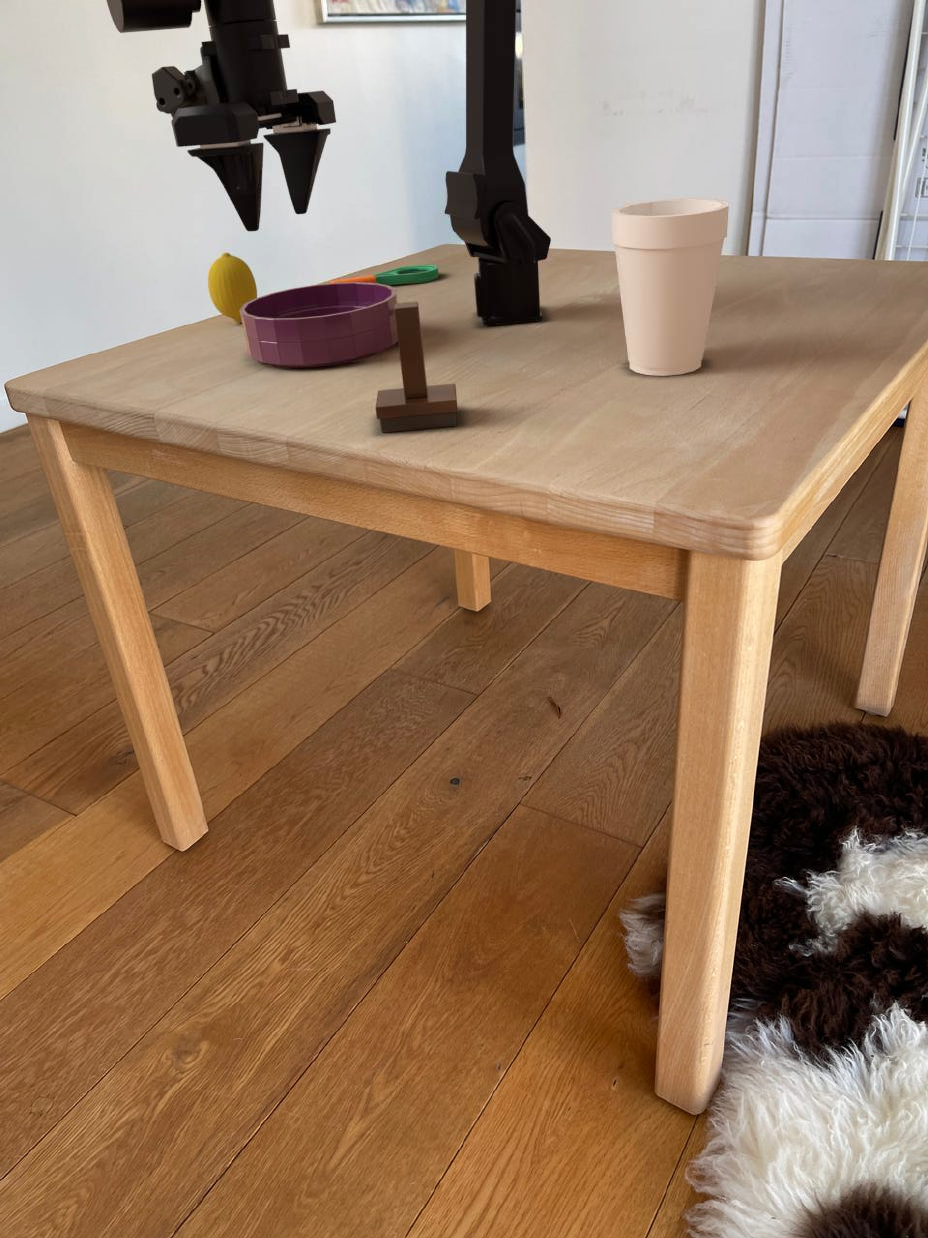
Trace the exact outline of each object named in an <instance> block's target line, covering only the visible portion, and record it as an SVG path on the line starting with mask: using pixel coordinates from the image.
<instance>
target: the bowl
mask: <svg viewBox="0 0 928 1238" xmlns="http://www.w3.org/2000/svg"><path fill="white" fill-rule="evenodd" d="M397 303H399V299H398V291H397V289H395V288H394V287H392V285H383V284H378V283H363V282H349V283H330V282H329V283H321V284H312V285H305V286H298V287H293V288H288V289H283V290H279V291H275V292H271V293H268V294H265V295H261V296H259V297H258V296H257V298H255V299H253V300H251V301H249V302H247V303H245V304H244V305H243V306H242V307H241V309H240V315H241V320H242V322H241V323H242V324H241V325H242V329H243V334H244V335H243V336H244V340H245V345H246V350H247V353H248V355H249V356H250V358H251V359H252V360H255V361H257V362H260V363H263V364H268V365H271V366H275V367H281V368H292V369H293V368H296V369H297V368H298V369H299V368H300V369H301V368H303V369H304V368H321V367H329V366H337V365H341V364H347V363H348V364H349V363H351V362H356V361H360V360H364V359H367V358H370V357H373V356H375V355H377V354H380V353H382V352H383V351H385V350H386V349H388V348H389V347H392V346H393V345H395V344H396V343H398V337H397V328H396V320H395V312H394V308H395V304H397Z"/></svg>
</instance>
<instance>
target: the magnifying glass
mask: <svg viewBox="0 0 928 1238" xmlns="http://www.w3.org/2000/svg"><path fill="white" fill-rule="evenodd" d="M439 277H440V276H439V267H438V266H437V265H433V264H418V265H417V264H416V265H407V266H402V267H397V268H393V269H390V270H389V269H388V270H385V271H383V272H379V273H376V274H370V275H362V276H357V277H356V276H355V277H350V278H342V279H335V280H330V281H329V284H330V283H349V282H363V283H378V284H383V285H388V286H394V285H405V284H409V285H410V284H418V283H426V282H430V281H433V280H436V279H438V278H439Z"/></svg>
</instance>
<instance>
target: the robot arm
mask: <svg viewBox="0 0 928 1238" xmlns="http://www.w3.org/2000/svg"><path fill="white" fill-rule="evenodd" d="M106 4H107V7H108V10H109V13H110V14H109V15H110V16H111V19H112V22H113V24H114V26H115V28H116V30H117V31H118V32H119V33H120V34H125V33H137V32H151V31H165V30H176V29H189V28H190V27H191V26H192V21H193V14H194V13H200V12H201V9H202V0H106ZM203 5H204V10H205V14H206V15H205V16H206V20H207V25H208V31H209V35H210V40H208V41H201V46H200V48H199V52H200V57H201V64H200V65H199V66H197V67H195V68H194V69H189V70H186V71H183V72H182V71H180V69H178V68H177V66H175V65H169V66H168V65H167V66H162V67H160V68H158V69H157V70H155V71H154V72H152V73H151V80H152V88H153V89H152V90H153V95H154V98H155V101H156V104H155V105H156V109H157V110H158V111H159V112H160V113H165V114H166V115H170V116H171V118H172V119H171V121H170V123H171V126H172V132H173V136H174V140H175V145H176V148H177V147H178V148H182V147H197V146H199V147H197V148H192V149H187V151H186V152H187V153H188V155H190V157H192V158H198V159H199V160H200V161H201V162H203V163H204V164H205V165H207V166H208V167H209V168H211V169H212V170H213V171H214V173H215V175H216V176H217V178H218V180H219V181H220V183H221V184H222V186H223V187H224V190H225V192H226V194H227V195H228V198H229V200H230V201H231V203H232V206H233V207H234V210H235V211H236V214H237V215H238V217H239V220H240V221H241V223H242V225H243V227H244V229H245V230H246V231H247V232H258V231H259V230H260V222H261V212H262V189H263V167H264V146H265V145H264V142H254V143H252V141H251V140H256V139H258V137H259V133H260V129H266V130H272V133H268V134H267V133H266V134H262V136H263V138H264V140H265V141H267V143H269V145H270V146H271V147H272V148H273V150H275V151H276V152H277V153H278V156H279V159H280V163H281V166H282V167H281V168H282V171H283V175H284V178H285V179H284V180H285V183H286V187H287V190H288V191H287V192H288V194H289V198H290V201H291V205H292V207H293V211H294V213H295V214H296V215H305V214H307V212H308V209H309V208H308V207H309V204H310V201H311V198H312V197H311V196H312V193H313V188H314V184H315V181H316V177H317V173H318V169H319V165H320V162H321V158H322V156H323V151H324V149H325V145H326V142H327V139H328V136H329V135H331V128H330V127H328V128H318V126H326V125H330V124H336V123H337V119H336V117H337V116H336V110H335V103H334V100H333V99H332V98H331V96H329V94H327V93H326V92H325V91H324V90H315V91H304V92H298V88H292V89H288V84H287V78H286V76H287V75H286V71H285V70H286V69H285V65H284V58H283V51H282V49H290V48H291V44H290V43H291V42H290V36H289V34H288V33H285V34H283V33H282V34H280V33H279V27H278V21H277V15H276V8H275V2H274V0H203ZM516 35H517V0H465V150H464V151H465V152H464V155H463V158H462V160H461V163H460V166H459V168H458V171H454V170H453V171H452V170H447V171H446V172H445V178H444V179H445V186H446V195H447V196H446V197H447V198H446V205H445V209H444V212H443V213H444V214H445V215H449V219H450V226H451V228H452V231H453V232H454V233H455V234H456V236H457V237H458V238H459V239H460V240H461V241H463V242H464V245H465V248H466V251H467V252H468V254H469V256H470V257H471V258H477V265H478V272H475V273H474V274H473V283H474V299H475V309H476V310H475V311H476V315H477V317H478V318H481V322H482V325H483V326H493V325H501V324H503V325H504V324H514V323H523V322H533V321H535V322H536V321H542V320H543V319H544V318H543V317H544V316H543V313H542V311H541V299H540V275H539V273H540V272H539V262H540V261H544V260H547V258H548V255H549V251H550V247H551V242H552V239H551V237H550V235H549V234H547V232H546V231H545V230H544V229H543V228H541V226H540V225H539V224H538V223H537V222H536V221H535V220H534V219H533V218H532V217H531V216H530V215H529V208H528V207H529V206H528V198H527V189H526V188H527V187H526V182H525V180H524V177H523V175H522V172H521V169H520V166H519V163H518V161H517V159H516V156H515V151H514V135H515V134H514V133H515V131H514V130H515V92H516V91H515V90H516V87H515V86H516V46H517V45H516V43H517V39H516V38H517V37H516Z"/></svg>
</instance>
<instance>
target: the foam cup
mask: <svg viewBox="0 0 928 1238" xmlns="http://www.w3.org/2000/svg"><path fill="white" fill-rule="evenodd" d="M729 207H730V206H729V202H728V201H724V200H719V199H715V198H714V199H713V198H710V199H709V198H670V199H659V200H658V199H657V200H648V201H640V202H636V203H630V204H624V205H622V206H619V207H615V208H613V209H612V211H611V244H613V246H614V254H615V260H616V267H617V268H616V269H617V270H616V271H617V278H618V285H619V286H618V288H619V293H620V294H619V295H620V300H621V301H620V302H621V303H620V304H621V310H622V319H623V327H624V334H625V335H624V336H625V344H626V351H627V359H628V362H629V370H631V371H633V372H634V373H637V374H641V375H646V376H656V377H657V376H660V377H661V376H662V377H667V376H668V377H669V376H678V375H685V374H688V373H692V372H695V371H697V370H698V369H700V368H701V367H702V360H703V359H704V354H705V347H706V342H707V337H708V330H709V326H710V325H709V324H710V320H711V314H712V309H713V303H714V297H715V292H716V286H717V280H718V275H719V271H720V270H719V269H720V264H721V258H722V252H723V247H724V242H725V239H726V238H727V237H728V224H729V223H728V222H729Z"/></svg>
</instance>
